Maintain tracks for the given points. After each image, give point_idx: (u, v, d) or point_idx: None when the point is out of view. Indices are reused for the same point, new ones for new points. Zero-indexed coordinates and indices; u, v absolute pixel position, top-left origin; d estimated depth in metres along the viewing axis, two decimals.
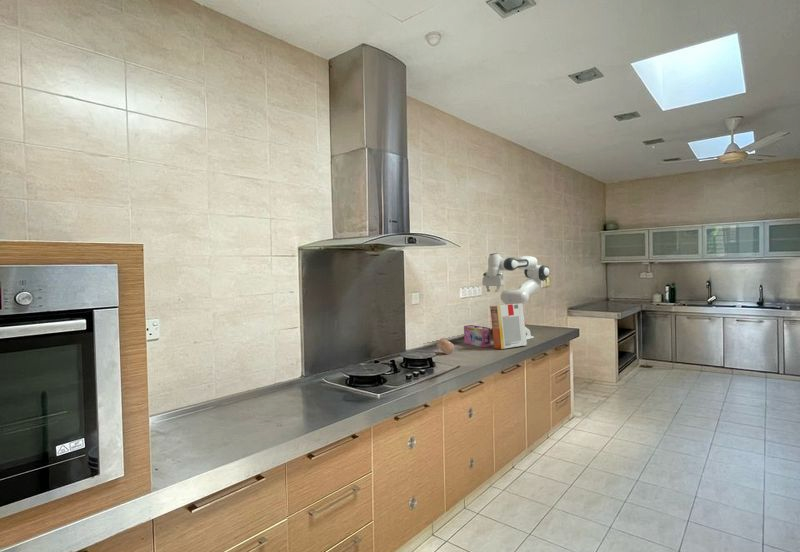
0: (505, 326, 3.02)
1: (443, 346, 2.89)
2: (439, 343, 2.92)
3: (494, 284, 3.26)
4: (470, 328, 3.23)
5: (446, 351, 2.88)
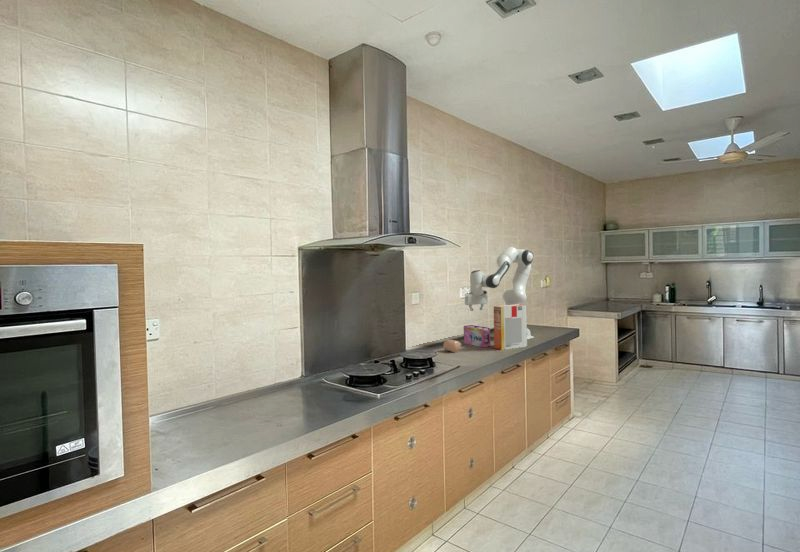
0: (507, 328, 3.01)
1: None
2: None
3: None
4: (470, 328, 3.23)
5: (456, 342, 2.96)
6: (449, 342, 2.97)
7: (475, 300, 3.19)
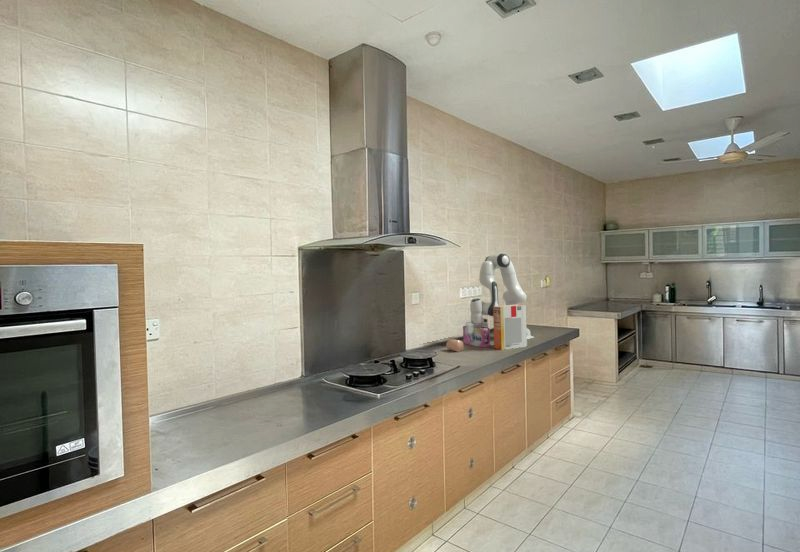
0: (507, 328, 3.01)
1: None
2: None
3: None
4: None
5: (461, 342, 2.99)
6: None
7: None
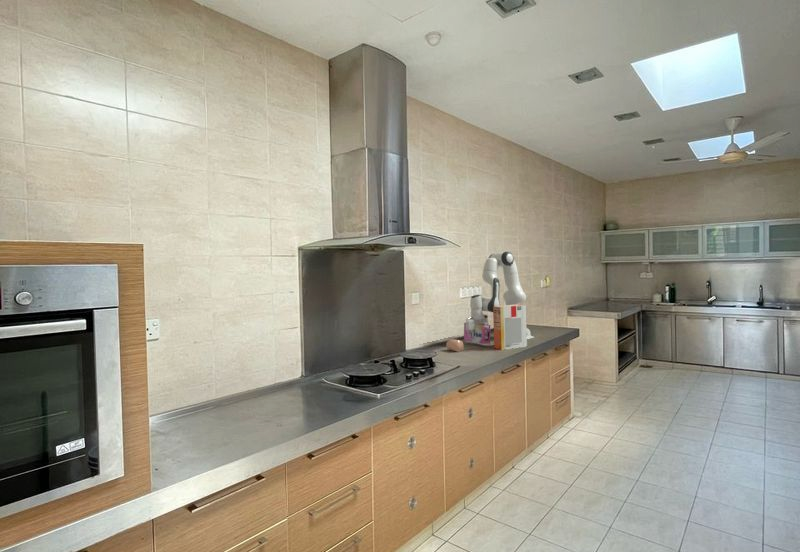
0: (507, 328, 3.01)
1: None
2: None
3: None
4: None
5: (461, 342, 2.99)
6: None
7: None
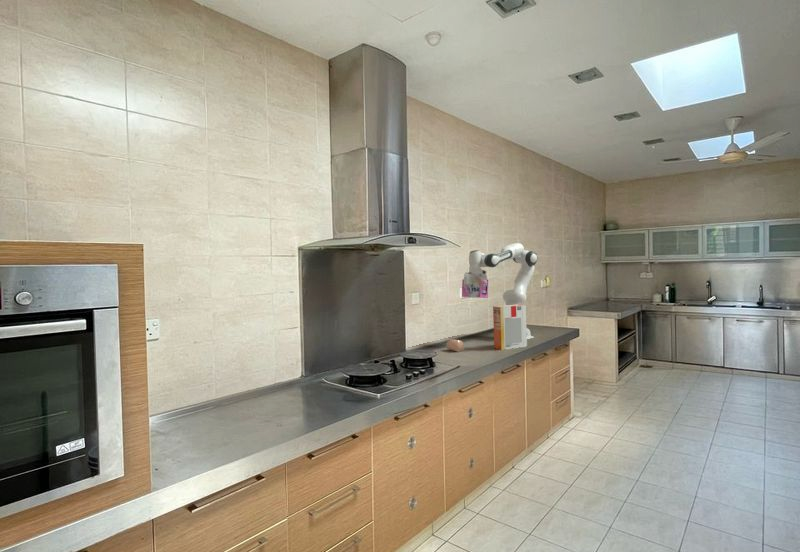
0: (507, 328, 3.01)
1: None
2: None
3: None
4: None
5: (461, 342, 2.99)
6: None
7: None
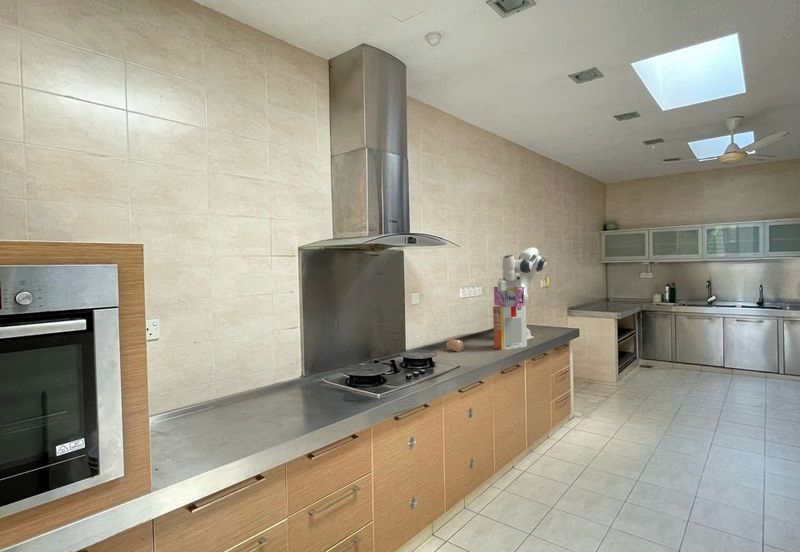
0: (507, 328, 3.01)
1: None
2: None
3: None
4: None
5: (461, 342, 2.99)
6: None
7: (508, 286, 3.03)
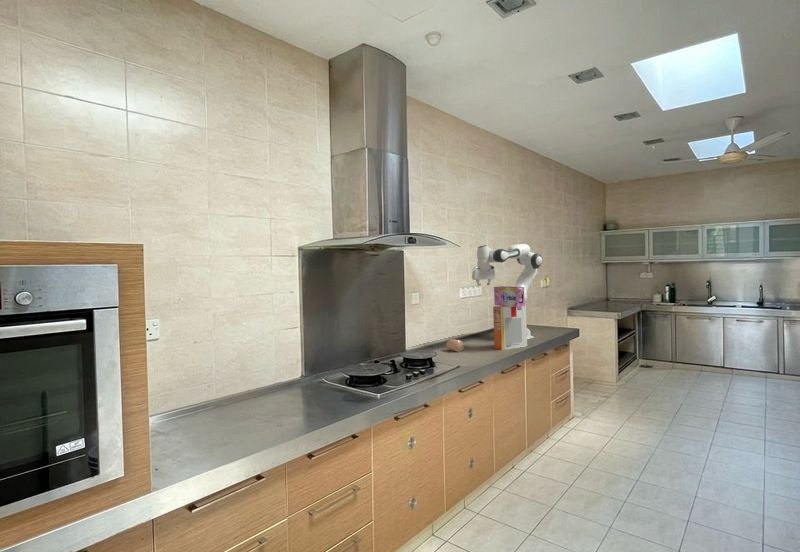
0: (507, 328, 3.01)
1: None
2: None
3: None
4: (502, 288, 3.07)
5: (461, 342, 2.99)
6: None
7: (482, 275, 3.17)
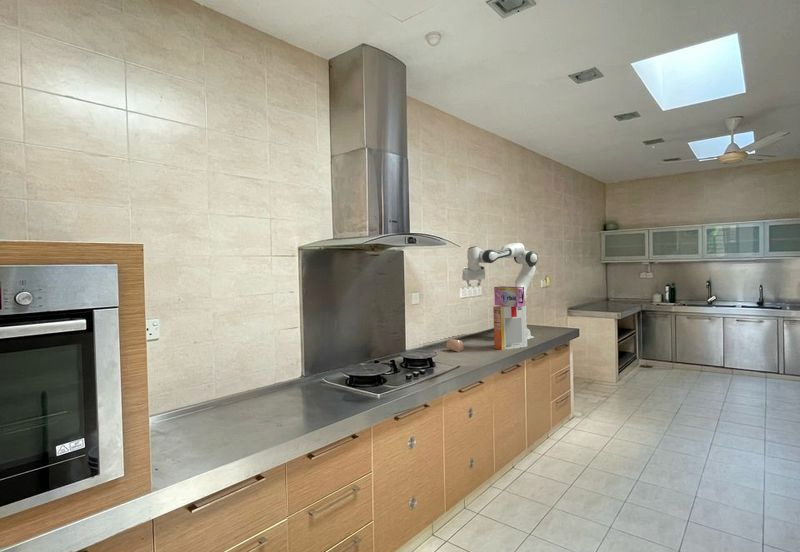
0: (507, 328, 3.01)
1: None
2: None
3: None
4: (502, 288, 3.07)
5: (461, 342, 2.99)
6: None
7: (472, 275, 3.23)
